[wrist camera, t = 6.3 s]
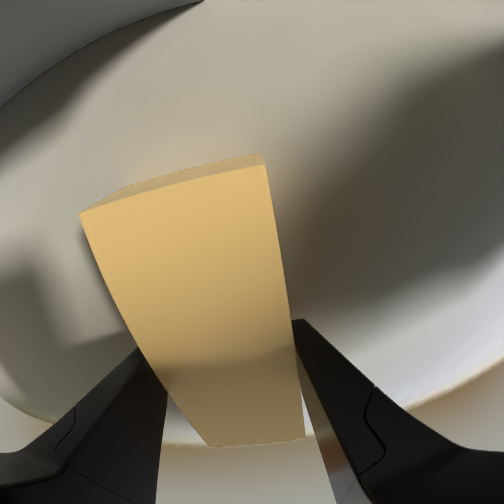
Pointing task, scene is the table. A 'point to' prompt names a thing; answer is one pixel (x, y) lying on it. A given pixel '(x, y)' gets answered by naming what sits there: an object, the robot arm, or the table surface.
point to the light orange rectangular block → (206, 296)
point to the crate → (59, 32)
